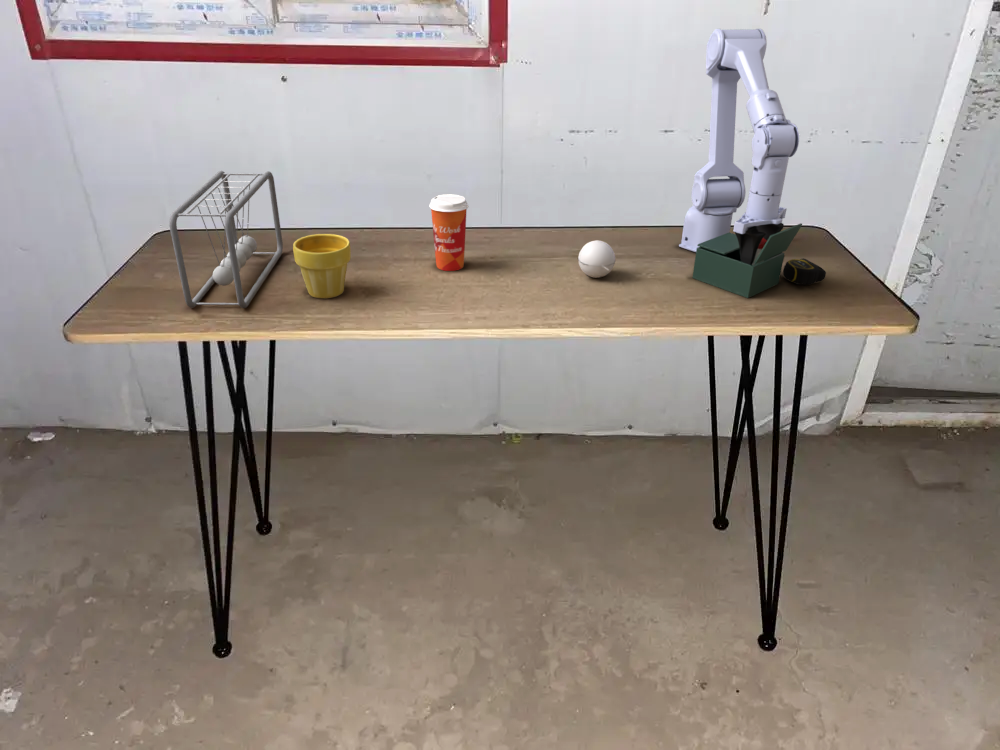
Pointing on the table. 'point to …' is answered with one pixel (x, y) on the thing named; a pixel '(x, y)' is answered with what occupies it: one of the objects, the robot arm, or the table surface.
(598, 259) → the seamed sphere
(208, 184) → the newton's cradle
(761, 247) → the shaker
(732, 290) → the carton
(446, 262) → the paper cup
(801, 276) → the tape measure
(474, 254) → the table surface
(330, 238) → the flower pot
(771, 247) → the flap
